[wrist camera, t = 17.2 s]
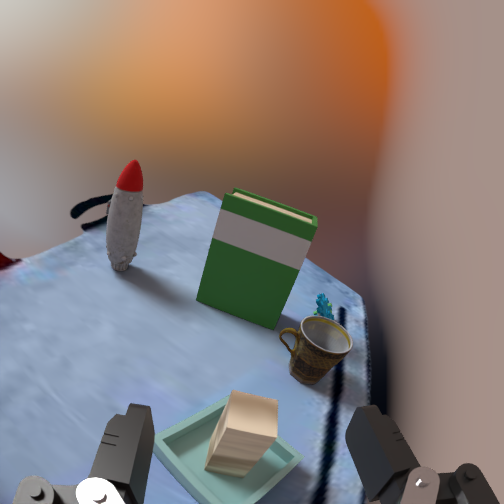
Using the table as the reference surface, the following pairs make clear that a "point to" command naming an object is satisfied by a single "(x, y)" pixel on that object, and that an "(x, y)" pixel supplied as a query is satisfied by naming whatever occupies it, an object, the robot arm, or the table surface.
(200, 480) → the tray
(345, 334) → the ceramic cup
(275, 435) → the birch block
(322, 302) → the teal virus model
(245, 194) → the hardback book
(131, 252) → the toy rocket
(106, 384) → the table surface
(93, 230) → the table surface
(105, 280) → the table surface
